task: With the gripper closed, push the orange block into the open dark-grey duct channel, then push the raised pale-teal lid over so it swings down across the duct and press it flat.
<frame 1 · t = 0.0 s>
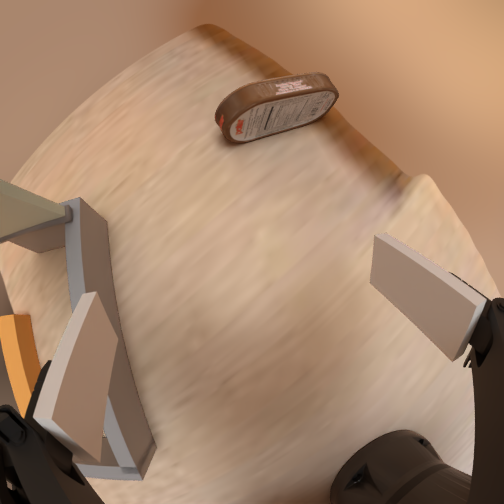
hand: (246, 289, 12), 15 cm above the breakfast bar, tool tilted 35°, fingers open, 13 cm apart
tin: (274, 128, 32), on the breakfast bar
duct: (83, 344, 24), on the breakfast bar
orange block: (32, 365, 22), on the breakfast bar
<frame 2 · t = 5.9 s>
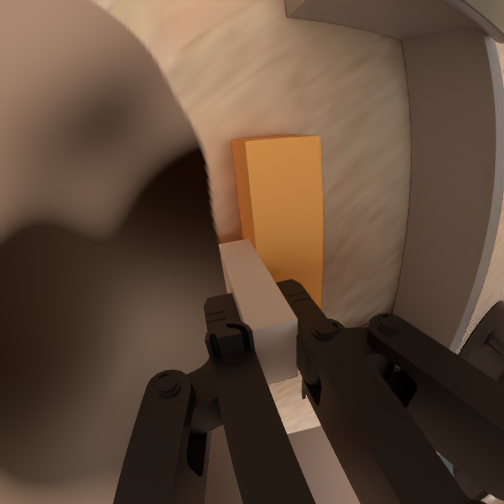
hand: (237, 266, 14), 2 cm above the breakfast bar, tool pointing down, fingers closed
duct: (374, 193, 16), on the breakfast bar
orange block: (270, 241, 16), on the breakfast bar, touching gripper
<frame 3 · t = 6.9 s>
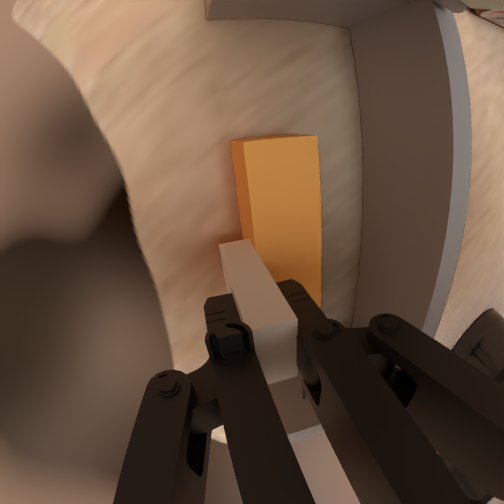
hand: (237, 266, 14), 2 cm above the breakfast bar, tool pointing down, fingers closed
tin: (486, 15, 11), on the breakfast bar
duct: (315, 202, 16), on the breakfast bar
orange block: (269, 240, 16), on the breakfast bar, touching gripper
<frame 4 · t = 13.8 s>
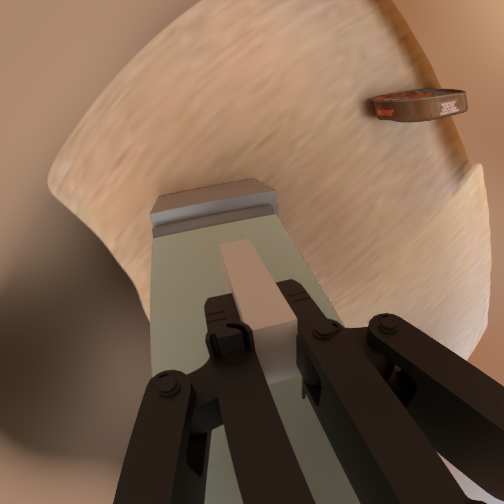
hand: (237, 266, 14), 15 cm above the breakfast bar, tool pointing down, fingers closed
tin: (401, 103, 28), on the breakfast bar
duct: (226, 293, 32), on the breakfast bar
cover: (248, 346, 12), point 18 cm above the breakfast bar, hinge at 75.2°, touching gripper
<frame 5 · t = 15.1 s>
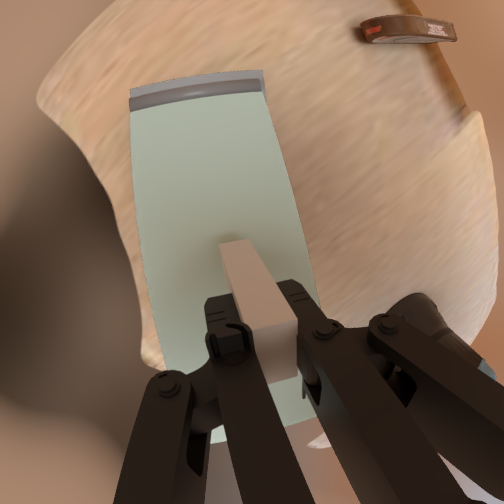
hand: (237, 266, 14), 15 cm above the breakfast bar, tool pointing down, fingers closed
tin: (391, 37, 24), on the breakfast bar
duct: (211, 211, 28), on the breakfast bar
cover: (222, 243, 15), point 13 cm above the breakfast bar, hinge at 31.5°, touching gripper
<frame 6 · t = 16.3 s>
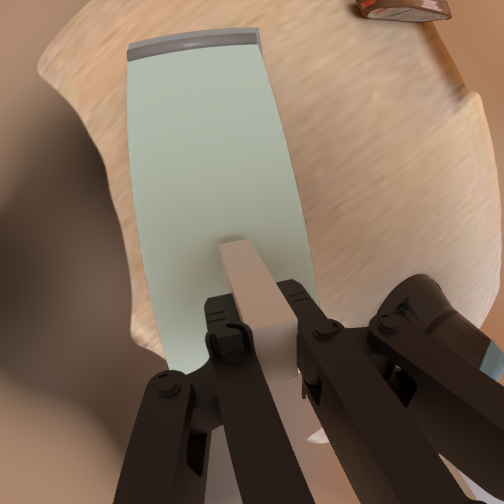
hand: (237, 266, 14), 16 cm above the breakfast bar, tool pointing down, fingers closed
tin: (387, 15, 22), on the breakfast bar
duct: (206, 173, 27), on the breakfast bar
cover: (213, 181, 15), point 12 cm above the breakfast bar, hinge at 24.9°, touching gripper
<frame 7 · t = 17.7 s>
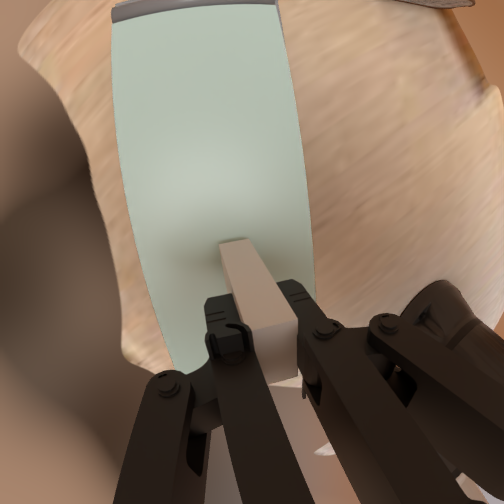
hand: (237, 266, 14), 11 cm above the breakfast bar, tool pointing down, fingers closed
cover: (215, 175, 13), point 9 cm above the breakfast bar, hinge at 7.5°, touching gripper
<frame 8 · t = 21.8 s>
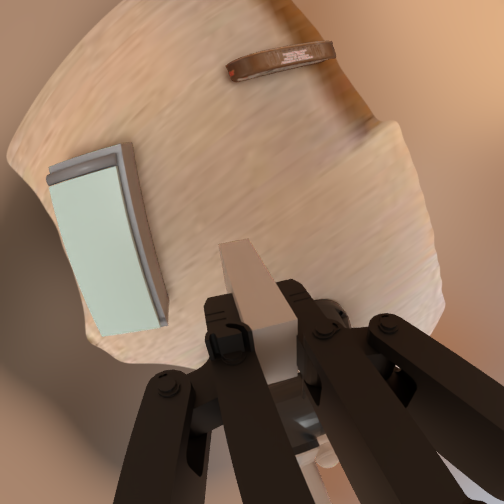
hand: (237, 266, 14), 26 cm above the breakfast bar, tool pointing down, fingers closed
tin: (273, 66, 33), on the breakfast bar
duct: (118, 234, 37), on the breakfast bar
cover: (102, 256, 30), point 8 cm above the breakfast bar, hinge at 1.4°
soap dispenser: (300, 398, 64), on the breakfast bar
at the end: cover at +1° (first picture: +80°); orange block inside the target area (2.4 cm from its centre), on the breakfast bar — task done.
